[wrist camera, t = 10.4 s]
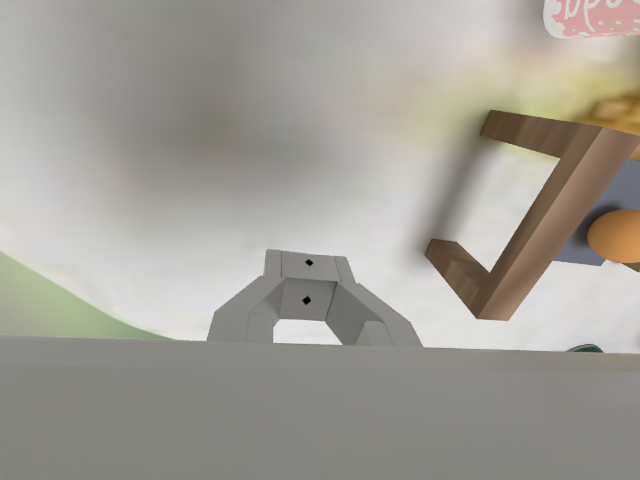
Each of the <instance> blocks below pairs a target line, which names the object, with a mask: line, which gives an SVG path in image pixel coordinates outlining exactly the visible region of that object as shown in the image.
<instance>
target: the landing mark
mask: <svg viewBox="0 0 640 480" xmlns="http://www.w3.org/2000/svg"><path fill="white" fill-rule="evenodd" d="M623 209H633V210H640V161H637V160H632V159H627V161H626V162H625V163H624V165H623V166H622V167H621V169H620V170H619V171H618V173H617V174H616V176H615V177H614V178H613V180H612V181H611V182H610V184H609V185H608V186H607V188H606V189H605V190H604V192H603V193H602V194H601V196H600V197H599V199H598V200H597V201H596V203H595V204H594V205H593V207H592V208H591V209H590V211H589V212H588V213H587V215H586V216H585V217H584V219H583V220H582V222H581V223H580V224H579V226H578V227H577V228H576V230H575V231H574V232H573V234H572V235H571V236H570V238H569V239H568V240H567V242H566V243H565V245H564V246H563V247H562V249H561V250H560V251H559V253H558V254H557V255H556V257H555V258H554V259H553V261H562V262H570V263H579V264H587V265H596V266H601V265H602V264H603V262H604V261H605V260H606V259H605V258H603V257H601V256H599V255H598V254H596V253H595V252H594V251H593V250H592V248H591V247H590V245H589V243H588V240H587V234H588V230H589V228H590V226H591V224H592V223H593V222H594V221H595V220H596V219H597V218H599V217H600V216H602V215H604V214H606V213H609V212H612V211H616V210H623Z"/></svg>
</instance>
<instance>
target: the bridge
mask: <svg viewBox="0 0 640 480" xmlns="http://www.w3.org/2000/svg"><path fill="white" fill-rule="evenodd" d="M480 135H482V136H485V137H489V138H492V139H496V140H499V141H503V142H506V143H509V144H513V145H516V146H520V147H523V148H527V149H530V150H534V151H537V152H540V153H544V154H547V155H551V156H554V157H558V158H561V159H560V161H559V162H558V164H557V165H556V167H555V169H554V170H553V172H552V173H551V175H550V177H549V178H548V180H547V182H546V183H545V185H544V186H543V188H542V190H541V191H540V193H539V194H538V196H537V198H536V199H535V201H534V202H533V204H532V206H531V207H530V209H529V211H528V212H527V214H526V215H525V217H524V219H523V220H522V222H521V223H520V225H519V227H518V228H517V230H516V231H515V233H514V235H513V236H512V238H511V240H510V241H509V243H508V244H507V246H506V248H505V249H504V251H503V252H502V254H501V256H500V257H499V259H498V260H497V262H496V264H495V265H494V267H493V269H492V270H491V272H490V273H489V272H488V271H487V270H486V269H485V268H484V267H483V266H482V265H481V264H480V263H479V262H478V261H477V260H475V259H474V258H473V257H472V256H471V255H470V254H469V253H468V252H467V251H466V250H465V249H464V248H463V247H462V246H461V245H459V244H458V243H457V242H451V241H443V240H435V239H432V240H431V242H430V245H429V247H428V249H427V251H426V253H425V256H426V257H427V258H428V260H429V261H430V262H431V263H432V264H433V266H434V267H435V268H436V269H437V271H438V272H439V273H440V274H441V276H442V277H443V278H444V279H445V281H446V282H447V283H448V284H449V285H450V287H451V288H452V289H453V290H454V292H455V293H456V294H457V295H458V297H459V298H460V299H461V300H462V301H463V303H464V304H465V305H466V306H467V308H468V309H469V310H470V311H471V313H472V314H473V315H474V316H475V318H476V319H485V320H502V321H508V320H509V319H510V318H511V316H512V315H513V314H514V312H515V311H516V309H517V308H518V307H519V305H520V304H521V303H522V301H523V300H524V299H525V297H526V296H527V295H528V293H529V292H530V291H531V289H532V288H533V286H534V285H535V284H536V282H537V281H538V280H539V278H540V277H541V276H542V274H543V273H544V272H545V270H546V269H547V268H548V266H549V265H550V263H551V262H552V261H553V259H554V258H555V257H556V255H557V254H558V253H559V251H560V250H561V249H562V247H563V246H564V245H565V243H566V242H567V240H568V239H569V238H570V236H571V235H572V234H573V232H574V231H575V230H576V228H577V227H578V226H579V224H580V223H581V222H582V220H583V219H584V217H585V216H586V215H587V213H588V212H589V211H590V209H591V208H592V207H593V205H594V204H595V203H596V201H597V200H598V199H599V197H600V196H601V194H602V193H603V192H604V190H605V189H606V188H607V186H608V185H609V184H610V182H611V181H612V180H613V178H614V177H615V176H616V174H617V173H618V171H619V170H620V169H621V167H622V166H623V165H624V163H625V162H626V161H627V159H628V158H629V157H630V155H631V154H632V153H633V151H634V150H635V148H636V147H637V146H638V144H639V143H640V136H636V135H632V134H628V133H624V132H620V131H617V130H613V129H609V128H605V127H599V126H593V125H586V124H580V123H573V122H567V121H560V120H554V119H548V118H541V117H535V116H528V115H522V114H515V113H509V112H502V111H496V110H491V112H490V114H489V116H488V118H487V120H486V123H485V125H484V127H483V129H482V131H481V134H480Z"/></svg>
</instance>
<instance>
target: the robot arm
mask: <svg viewBox="0 0 640 480" xmlns="http://www.w3.org/2000/svg"><path fill="white" fill-rule="evenodd" d="M279 319H300V320H315V321H326V322H325V323H326V324H327V325H328V326H329V328H330V329H331V330H332V331H333V333H334V334H335V335H336V336H337V338H338V339H339V340H340V341H341V343H342V344H343V345H322V344H288V343H273V327H274V326H275V324H276V323H277V322H278V320H279ZM0 480H640V354H631V353H595V352H561V351H527V350H494V349H458V348H425V347H423V345H422V344H421V342H420V340H419V338H418V336H417V334H416V332H415V330H414V328H413V326H412V324H411V323H410V322H409V321H408V320H407V319H405V318H404V317H403V316H402V315H400V314H399V313H398V312H396V311H395V310H394V309H392V308H391V307H390V306H389V305H387V304H386V303H385V302H383V301H382V300H381V299H379V298H378V297H377V296H375V295H374V294H373V293H372V292H370V291H369V290H368V289H366V288H365V287H364V286H362V285H361V284H360V283H356V282H355V279H354V276H353V274H352V271H351V268H350V266H349V263H348V260H347V258H346V257H344V256H327V255H314V254H307V253H298V252H290V251H282V250H281V251H280V250H272V249H267V250H266V257H265V265H264V273H263V276H259V277H258V278H257V279H255V280H254V281H253V282H252V283H250V284H249V285H248V286H247V287H245V288H244V289H243V290H242V291H240V292H239V293H238V294H237V295H235V296H234V297H233V298H231V299H230V300H229V301H228V302H226V303H225V304H224V305H223V306H221V307H220V308H219V309H218V310H216V311H215V312H214V316H213V319H212V323H211V326H210V330H209V333H208V337H207V341H188V340H155V339H122V338H88V337H53V336H19V335H0Z"/></svg>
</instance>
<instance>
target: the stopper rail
mask: <svg viewBox="0 0 640 480" xmlns="http://www.w3.org/2000/svg"><path fill="white" fill-rule="evenodd" d="M622 264H624V265H626V266H628V267H629V268H631V269H633V270H635V271H637V272H640V262H636V263H622Z"/></svg>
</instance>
